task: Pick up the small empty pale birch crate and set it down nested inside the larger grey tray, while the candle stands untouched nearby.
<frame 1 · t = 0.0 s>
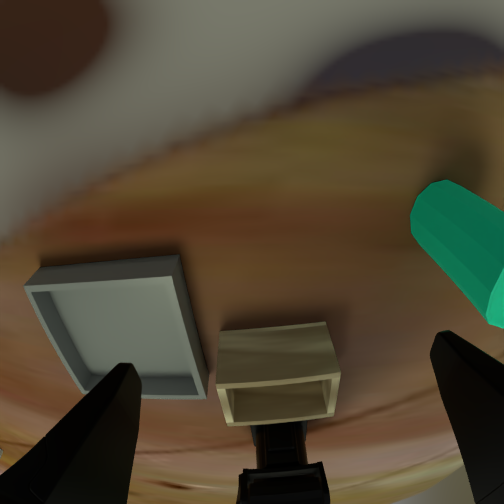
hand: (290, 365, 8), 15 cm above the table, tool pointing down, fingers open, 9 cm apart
birch crate: (274, 350, 28), on the table
grey tray: (124, 326, 27), on the table
candle: (439, 214, 22), on the table
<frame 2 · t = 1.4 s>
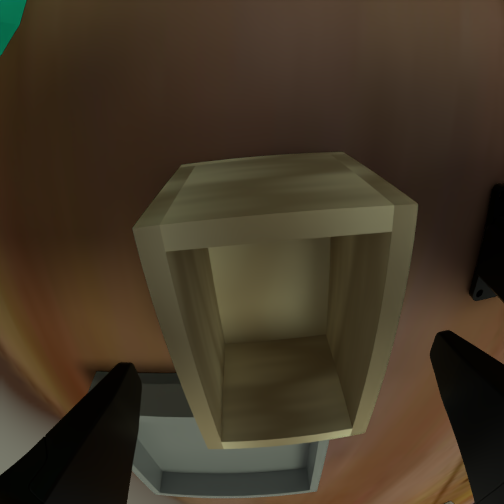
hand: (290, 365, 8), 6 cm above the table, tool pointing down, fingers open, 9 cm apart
birch crate: (270, 262, 14), on the table
grey tray: (221, 432, 20), on the table
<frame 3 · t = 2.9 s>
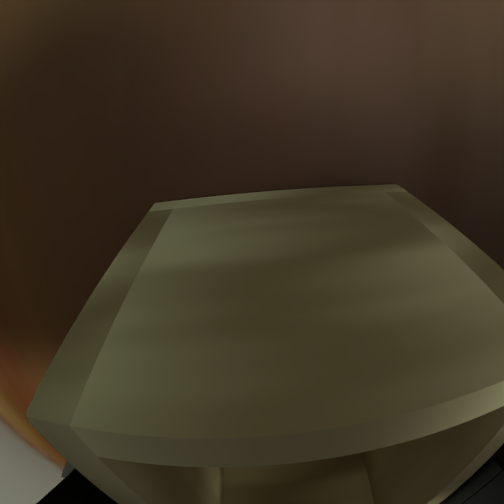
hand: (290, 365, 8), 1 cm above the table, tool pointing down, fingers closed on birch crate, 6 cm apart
birch crate: (286, 335, 10), on the table, touching gripper
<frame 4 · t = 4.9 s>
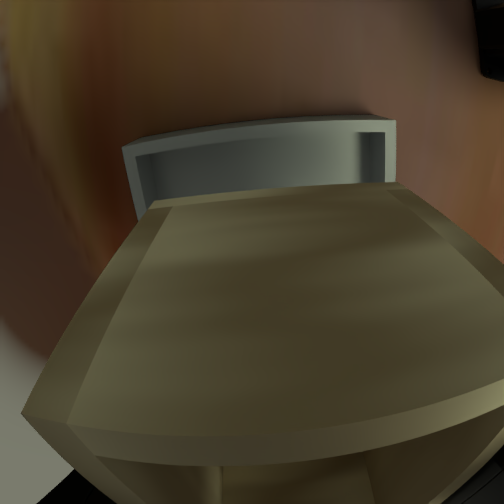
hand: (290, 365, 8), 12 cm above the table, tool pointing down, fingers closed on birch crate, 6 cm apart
birch crate: (286, 334, 10), point 11 cm above the table, touching gripper
grey tray: (268, 230, 19), on the table
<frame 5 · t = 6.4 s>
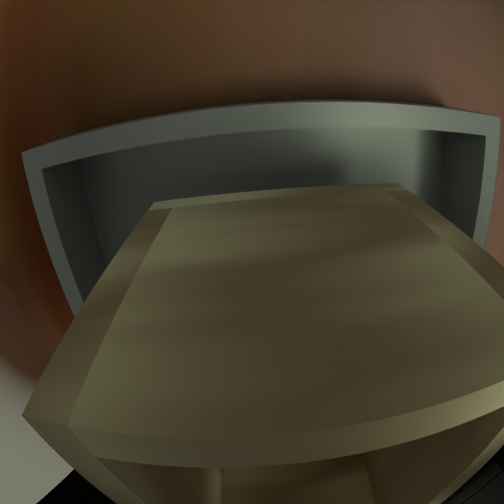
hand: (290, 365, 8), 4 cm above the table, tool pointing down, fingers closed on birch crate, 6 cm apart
birch crate: (286, 335, 10), point 3 cm above the table, touching gripper
grey tray: (276, 284, 12), on the table
when the fingers open (4 cm above the table, at t = 7.3 s): birch crate drops 2 cm, resting on grey tray.
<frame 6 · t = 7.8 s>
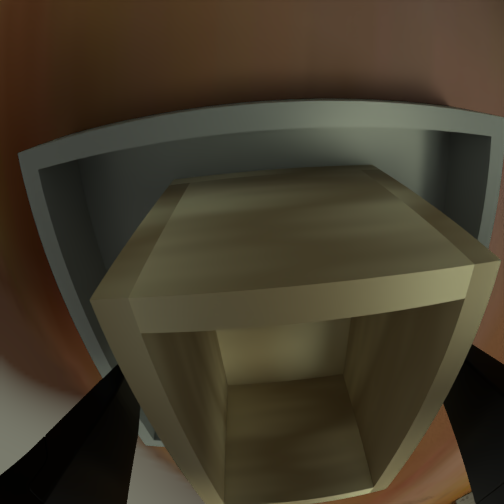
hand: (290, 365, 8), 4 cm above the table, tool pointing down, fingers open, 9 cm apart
supplement box: (475, 491, 38), on the table
birch crate: (282, 297, 11), point 1 cm above the table, touching grey tray
grey tray: (277, 286, 12), on the table
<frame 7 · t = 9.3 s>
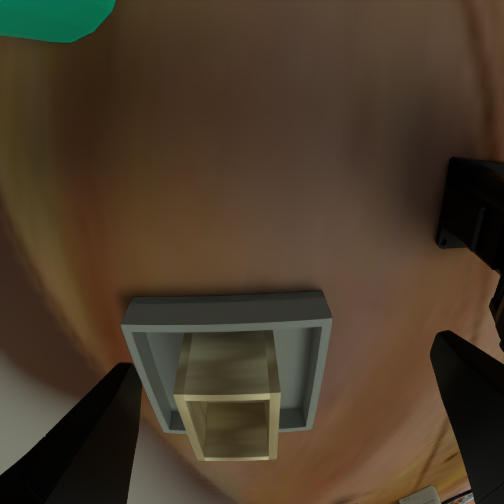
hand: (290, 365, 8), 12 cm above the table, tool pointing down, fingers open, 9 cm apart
supplement box: (418, 493, 52), on the table
birch crate: (232, 369, 24), point 1 cm above the table, touching grey tray
grey tray: (231, 362, 25), on the table
candle: (76, 0, 12), on the table
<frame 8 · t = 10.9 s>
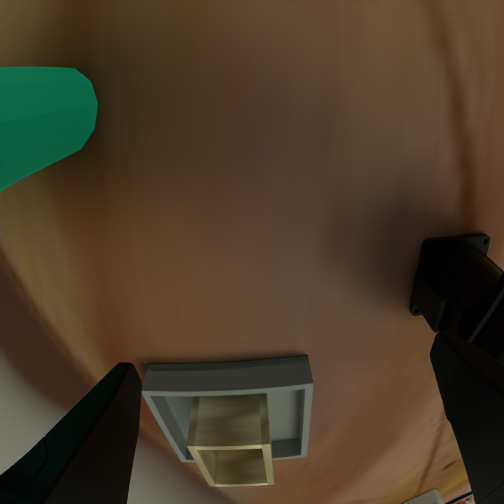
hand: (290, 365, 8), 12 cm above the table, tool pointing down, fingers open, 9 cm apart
supplement box: (422, 496, 54), on the table
ceramic plate: (452, 502, 72), on the table
birch crate: (236, 413, 27), point 1 cm above the table, touching grey tray
grey tray: (235, 407, 28), on the table
candle: (58, 112, 16), on the table
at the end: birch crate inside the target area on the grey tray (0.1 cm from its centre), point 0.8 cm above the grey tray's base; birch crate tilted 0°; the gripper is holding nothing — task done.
